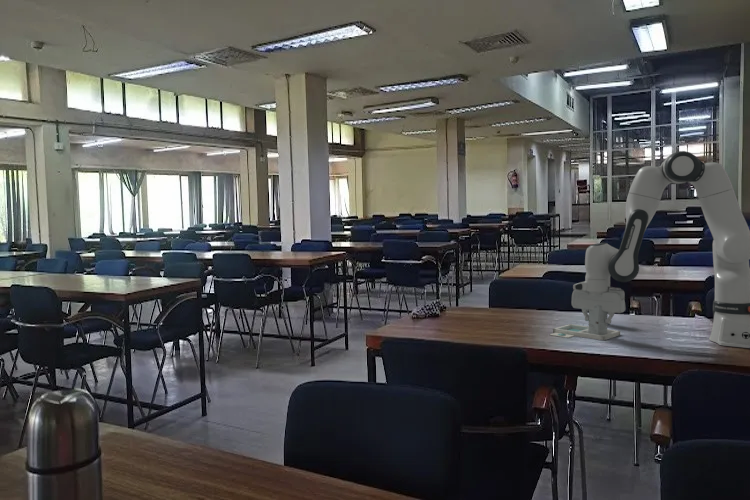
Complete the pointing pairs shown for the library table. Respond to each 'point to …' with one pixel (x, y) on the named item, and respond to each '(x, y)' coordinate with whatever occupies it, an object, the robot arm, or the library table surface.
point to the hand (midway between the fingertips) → (597, 322)
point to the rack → (582, 332)
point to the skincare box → (597, 321)
